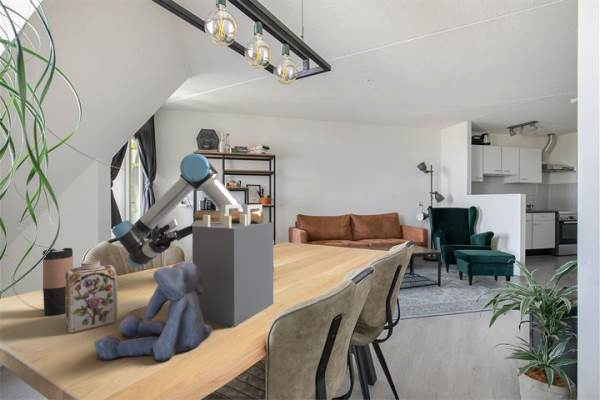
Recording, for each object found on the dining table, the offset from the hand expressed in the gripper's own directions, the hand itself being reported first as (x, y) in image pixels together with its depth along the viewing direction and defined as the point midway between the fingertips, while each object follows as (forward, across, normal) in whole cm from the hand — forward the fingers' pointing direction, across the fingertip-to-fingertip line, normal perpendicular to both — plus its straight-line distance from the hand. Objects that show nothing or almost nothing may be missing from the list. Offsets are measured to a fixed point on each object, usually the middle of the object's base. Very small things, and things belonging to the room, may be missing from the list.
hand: (190, 220), depth 116 cm
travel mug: (-35, +32, -13) cm, 49 cm away
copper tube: (+16, -1, -8) cm, 18 cm away
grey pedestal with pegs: (+8, +5, -37) cm, 38 cm away
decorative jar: (-20, +32, -22) cm, 43 cm away
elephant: (+5, +31, -36) cm, 47 cm away
